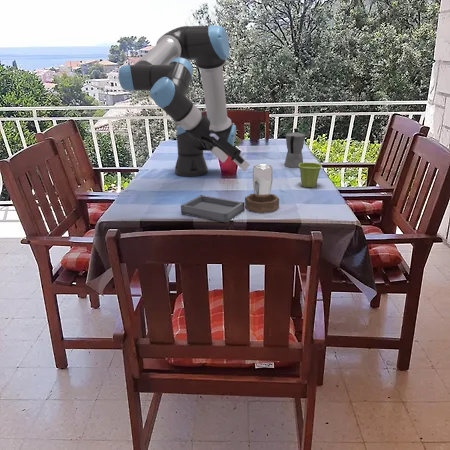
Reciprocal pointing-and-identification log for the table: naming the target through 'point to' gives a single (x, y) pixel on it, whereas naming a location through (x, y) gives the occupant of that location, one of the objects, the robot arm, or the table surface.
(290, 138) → the coffeepot
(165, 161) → the table surface
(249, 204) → the ring holder
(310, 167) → the plant pot
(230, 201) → the tray
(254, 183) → the beer glass
